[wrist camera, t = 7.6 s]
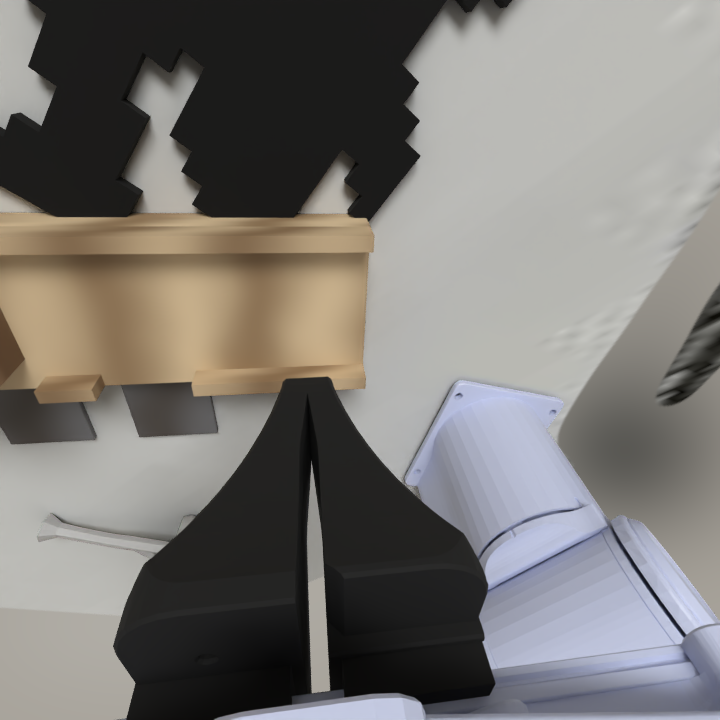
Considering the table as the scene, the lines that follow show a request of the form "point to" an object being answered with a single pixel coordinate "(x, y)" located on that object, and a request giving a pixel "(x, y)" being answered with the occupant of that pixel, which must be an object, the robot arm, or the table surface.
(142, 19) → the black pixelated cutout
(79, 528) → the mushroom
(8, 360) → the walnut block
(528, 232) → the table surface
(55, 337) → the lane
